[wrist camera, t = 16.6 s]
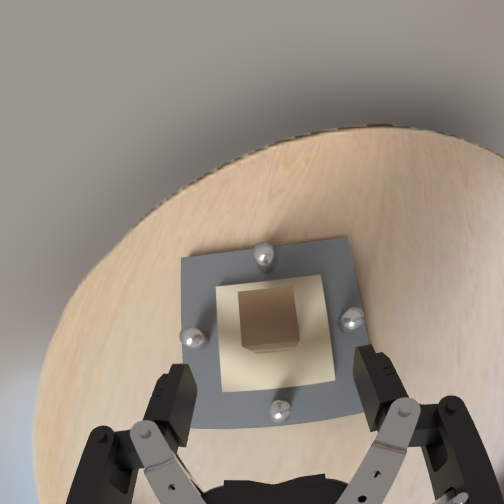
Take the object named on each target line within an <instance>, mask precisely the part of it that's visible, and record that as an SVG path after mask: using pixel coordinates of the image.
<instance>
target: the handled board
mask: <svg viewBox="0 0 504 504" xmlns="http://www.w3.org/2000/svg"><path fill="white" fill-rule="evenodd" d="M216 304H217V323H218V340H219V355H220V370H221V383H222V392H237V391H254V390H266V389H277V388H286V387H295V386H302V385H310V384H316V383H323V382H329V381H335V372H334V363H333V355H332V347H331V339H330V332H329V325H328V318H327V311H326V304H325V298H324V292H323V286H322V280H321V274H320V275H312V276H304V277H296V278H288V279H280V280H272V281H263V282H255V283H246V284H237V285H227V286H218V287H216Z"/></svg>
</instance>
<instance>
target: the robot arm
mask: <svg viewBox="0 0 504 504" xmlns="http://www.w3.org/2000/svg"><path fill="white" fill-rule="evenodd" d="M353 379H354V382H355V385H356V388H357V391H358V394H359V397H360V400H361V403H362V406H363V410H364V413H365V416H366V419H367V422H368V426H369V429H370V432H373V431H378V434H377V436H376V438H375V440H374V442H373V443H372V445H371V447H370V449H369V450H368V452H367V454H366V456H365V458H364V459H363V461H362V463H361V465H360V466H359V468H358V470H357V472H356V473H355V475H354V476H353V478H352V480H351V481H350V483H349V484H347V483H345V482H342V481H339V480H335V479H326V478H325V474H318V475H312V476H304V477H298V478H295V479H292V480H289V481H286V482H282V483H279V484H274V485H273V484H266V483H260V482H254V481H249V480H224V486H219V487H216V488H213V489H210V490H208V491H206V492H204V490H203V489H202V488H201V487H200V485H199V484H198V483H197V482H196V480H195V479H194V478H193V476H192V475H191V473H190V472H189V470H188V469H187V467H186V466H185V464H184V463H183V461H182V460H181V458H180V457H179V455H178V454H177V450H178V447H186V445H187V440H188V435H189V431H190V426H191V421H192V417H193V412H194V407H195V403H196V398H197V384H196V382H195V379H194V377H193V374H192V372H191V369H190V366H189V365H188V364H172V366H171V368H170V371H169V374H163V375H162V376H161V377H160V378H159V379H158V380H157V383H156V385H155V388H154V391H153V393H152V397H151V399H150V401H149V404H148V407H147V410H146V412H145V415H144V418H143V420H142V421H139V422H137V423H136V424H134V425H133V427H132V428H131V430H125V431H117V432H114V431H113V430H112V429H111V428H110V427H108V426H99V427H96V428H95V429H93V430H92V432H91V433H90V435H89V438H88V440H87V443H86V446H85V448H84V451H83V454H82V457H81V459H80V462H79V465H78V468H77V471H76V474H75V476H74V479H73V482H72V486H71V489H70V492H69V495H68V498H67V502H66V504H131V503H132V498H133V493H134V488H135V483H136V479H137V474H138V470H139V468H145V470H144V474H145V476H146V478H147V480H148V482H149V483H150V485H151V487H152V489H153V491H154V493H155V494H156V496H157V498H158V500H159V501H160V503H161V504H382V503H383V501H384V499H385V497H386V495H387V493H388V492H389V490H390V488H391V486H392V484H393V482H394V480H395V478H396V476H397V474H398V471H399V469H400V467H401V465H402V463H403V460H404V458H405V456H406V453H407V451H406V450H407V447H419V446H421V449H422V452H423V455H424V458H425V462H426V465H427V469H428V473H429V476H430V480H431V484H432V488H433V492H434V496H435V500H436V501H435V502H434V503H432V504H504V502H503V498H502V495H501V491H500V488H499V485H498V482H497V479H496V476H495V473H494V471H493V468H492V465H491V462H490V460H489V457H488V455H487V452H486V450H485V447H484V445H483V443H482V440H481V438H480V436H479V433H478V431H477V429H476V427H475V424H474V422H473V420H472V418H471V416H470V414H469V412H468V410H467V408H466V406H465V404H464V402H463V401H462V399H460V398H459V397H457V396H446V397H444V398H442V399H441V400H440V402H439V404H428V405H422V404H418V402H417V401H415V400H414V399H412V398H409V396H408V395H407V392H406V390H405V388H404V386H403V384H402V382H401V380H400V378H399V376H398V374H397V372H396V370H395V368H394V367H393V364H392V362H391V360H390V358H389V357H387V356H386V355H385V354H384V353H383V352H380V353H375V351H374V348H373V346H372V345H371V344H368V345H363V346H358V347H356V348H355V353H354V362H353Z"/></svg>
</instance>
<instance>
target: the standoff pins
mask: <svg viewBox="0 0 504 504" xmlns="http://www.w3.org/2000/svg"><path fill="white" fill-rule="evenodd" d="M254 256H255V260H256V264H257V268H258V269H259V271H261V272H263V273H268V272H271V271H272V270H273V269H274V266H275V261H274V251H273V247H272V246H271V245H270V244H269V243H267V242H261V243H258V244H257V245H256V246H255V248H254ZM364 320H365V315H364V312H363V311H362V310H361V309H360V308H357V307H352V308H350V309H348V310H347V311H346V312H345V313H344V314H343V315H342V316H341V317H340V318H339V320H338V328H339V330H340V331H342V332H344V333H349V332H351V331H353V330H355V329H356V328H358V327H360V326H361V325H362V324H363V323H364ZM180 341H181V342H182V344H184V345H185V346H189V347H192V348H196V349H204V348H206V347H207V346H208V344H209V337H208V335H207V334H206V333H205V332H203V331H201V330H199V329H197V328H195V327H192V326H186V327H184V328H183V329H182V330H181V332H180ZM290 416H291V408H290V403H289V402H288V400H286V399H284V398H277V399H275V400H274V401H273V402H272V403H271V406H270V409H269V417H270V418H271V419H272V420H273V421H274V422H278V423H282V422H285V421H287V420H288V419H289V417H290Z"/></svg>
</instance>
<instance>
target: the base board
mask: <svg viewBox="0 0 504 504" xmlns="http://www.w3.org/2000/svg"><path fill="white" fill-rule="evenodd" d="M272 247H273V251H274V261H275V266H274V269H273V270H272V271H271V272H268V273H263V272H261V271H259V269H258V268H257V264H256V260H255V256H254V249H247V250H239V251H231V252H223V253H215V254H207V255H199V256H191V257H183V258H181V326H182V329H183V328H184V327H186V326H192V327H195V328H197V329H199V330H201V331H203V332H205V333H206V334H207V335H208V337H209V344H208V346H207V347H206V348H204V349H196V348H192V347H189V346H185V345H184V344H182V353H183V364H188V365H189V366H190V369H191V372H192V374H193V377H194V379H195V382H196V384H197V398H196V403H195V407H194V412H193V417H192V421H191V426H190V428H198V429H238V428H259V427H272V426H283V425H292V424H300V423H308V422H314V421H321V420H327V419H332V418H338V417H343V416H348V415H353V414H357V413H362V412H364V410H363V406H362V403H361V400H360V397H359V394H358V391H357V388H356V385H355V382H354V379H353V362H354V353H355V348H356V347H358V346H363V345H368V344H369V343H368V336H367V330H366V324H365V320H364V323H363V324H362V325H361V326H360V327H358V328H356V329H355V330H353V331H351V332H349V333H344V332H342V331H340V330H339V328H338V320H339V318H340V317H341V316H342V315H343V314H344V313H345V312H346V311H347V310H348V309H350V308H352V307H357V308H360V309H361V310H362V311H363V306H362V301H361V296H360V291H359V286H358V281H357V276H356V271H355V267H354V262H353V258H352V253H351V249H350V245H349V241H348V237H345V238H337V239H329V240H321V241H312V242H304V243H296V244H288V245H280V246H272ZM320 274H321V280H322V286H323V292H324V298H325V304H326V311H327V318H328V325H329V332H330V339H331V347H332V355H333V363H334V372H335V381H329V382H323V383H316V384H310V385H302V386H295V387H286V388H277V389H266V390H254V391H237V392H222V383H221V370H220V355H219V340H218V323H217V304H216V287H218V286H227V285H237V284H246V283H255V282H263V281H272V280H280V279H288V278H296V277H304V276H312V275H320ZM277 398H284V399H286V400H288V402H289V403H290V408H291V416H290V417H289V419H288V420H287V421H285V422H282V423H278V422H274V421H273V420H272V419H271V418H270V417H269V409H270V406H271V403H272V402H273V401H274V400H275V399H277Z"/></svg>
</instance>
